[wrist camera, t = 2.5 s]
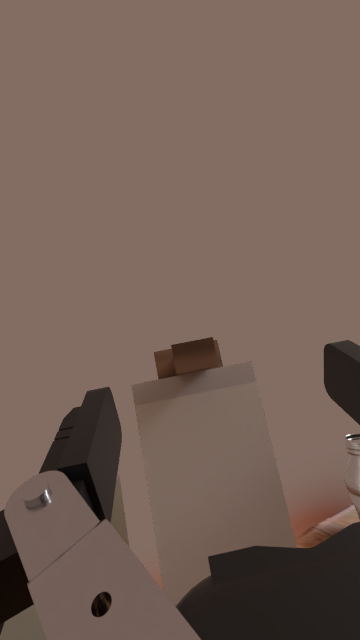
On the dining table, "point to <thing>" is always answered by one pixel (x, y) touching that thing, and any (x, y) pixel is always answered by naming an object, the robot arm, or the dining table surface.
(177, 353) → the walnut paddle
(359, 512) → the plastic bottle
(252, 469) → the cream stand
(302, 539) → the dining table surface
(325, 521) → the dining table surface
